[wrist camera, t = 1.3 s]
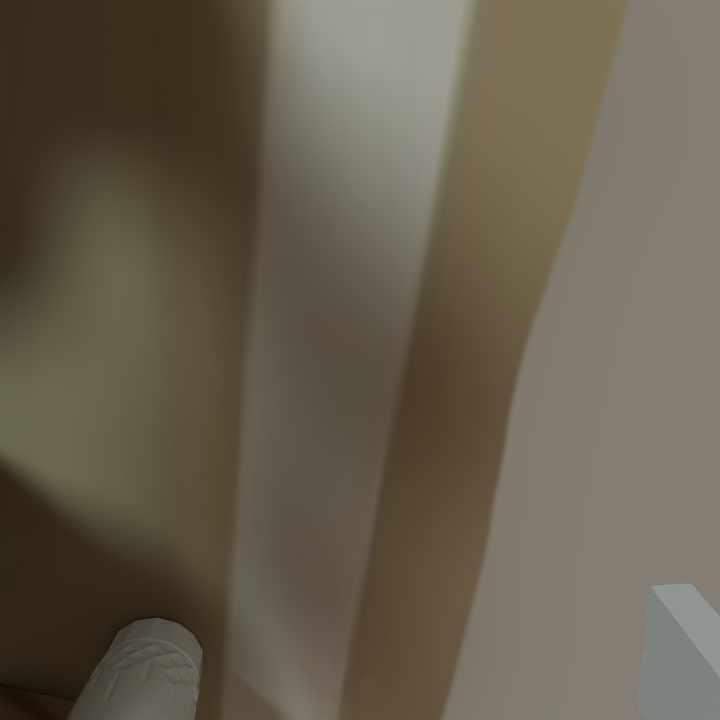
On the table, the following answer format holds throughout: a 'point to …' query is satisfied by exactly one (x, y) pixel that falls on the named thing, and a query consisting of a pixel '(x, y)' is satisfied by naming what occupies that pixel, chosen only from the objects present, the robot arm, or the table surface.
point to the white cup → (144, 675)
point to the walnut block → (32, 705)
